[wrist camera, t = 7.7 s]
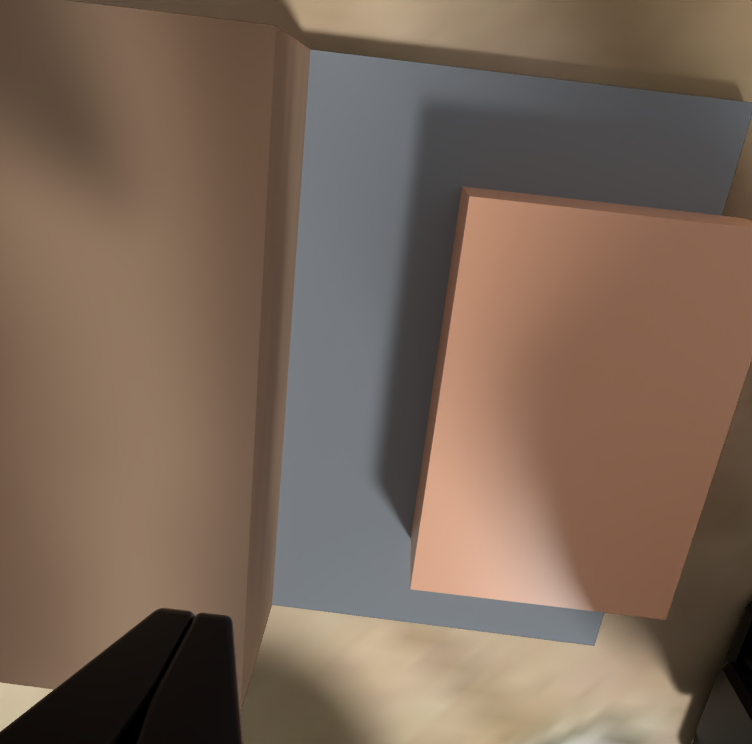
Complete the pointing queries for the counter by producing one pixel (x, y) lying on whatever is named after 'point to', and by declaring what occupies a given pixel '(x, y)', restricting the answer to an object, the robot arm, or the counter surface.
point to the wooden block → (141, 323)
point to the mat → (435, 292)
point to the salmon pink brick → (579, 399)
